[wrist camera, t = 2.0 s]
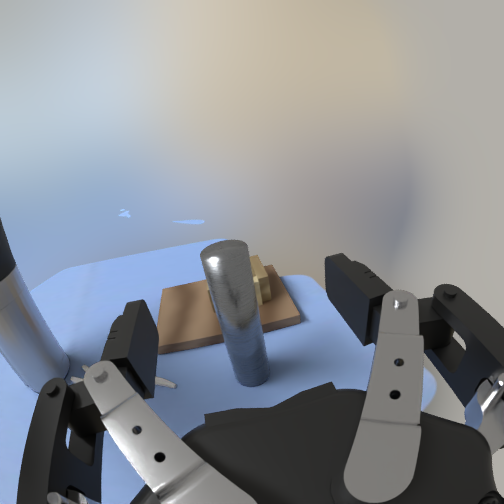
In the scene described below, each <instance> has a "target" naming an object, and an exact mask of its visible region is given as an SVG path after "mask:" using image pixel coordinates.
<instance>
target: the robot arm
mask: <svg viewBox="0 0 504 504" xmlns="http://www.w3.org/2000/svg"><path fill="white" fill-rule="evenodd" d="M325 283H326V284H325V285H326V293H327V296H328V298H329V300H330V301H331V303H332V304H333V305H334V307H335V308H336V309H337V311H338V312H339V313H340V315H341V316H342V317H343V319H344V320H345V321H346V323H347V324H348V325H349V327H350V328H351V329H352V331H353V332H354V333H355V335H356V336H357V338H358V339H359V340H360V342H361V343H362V344H363V346H366V345H368V344H371V343H374V344H375V345H376V346H375V352H374V357H373V362H372V367H371V372H370V377H369V382H368V386H367V390H366V391H363V390H357V389H336V388H335V387H334V385H333V383H332V382H329V383H326V384H323V385H320V386H317V387H314V388H311V389H308V390H305V391H302V392H300V393H298V394H296V395H294V396H293V397H291V398H289V399H287V400H285V401H283V402H281V403H279V404H277V405H275V406H273V407H270V408H236V409H231V410H226V411H220V412H215V413H209V414H204V415H205V424H202V425H200V426H198V427H196V428H194V429H193V430H191V431H190V432H188V433H187V434H186V435H185V436H183V437H182V438H181V439H180V438H179V437H178V436H177V435H176V434H175V433H174V432H173V431H172V430H171V429H170V428H169V427H168V426H167V425H166V424H165V423H164V422H163V421H162V420H161V419H160V418H159V417H158V416H157V414H156V413H155V412H154V411H153V410H152V409H151V408H150V407H149V406H148V404H147V403H146V402H145V401H144V399H149V398H154V389H155V377H156V365H157V355H158V346H159V334H158V330H157V327H156V325H155V323H154V320H153V318H152V316H151V314H150V311H149V309H148V307H147V304H146V302H145V301H144V300H143V299H142V300H137V301H133V302H128V303H127V304H126V306H125V309H124V312H123V315H120V316H118V317H117V319H116V320H115V321H114V322H113V324H112V326H111V329H110V333H109V335H108V338H107V339H108V340H107V341H106V344H105V347H104V351H103V354H102V357H101V360H100V362H97V363H95V364H93V365H92V366H91V367H90V368H89V369H88V370H87V371H86V373H85V375H84V380H83V381H80V382H78V383H75V384H72V385H68V384H67V383H66V382H65V380H64V378H65V377H66V375H67V373H68V370H69V367H70V362H69V358H68V357H67V355H66V354H65V352H64V351H63V349H62V348H61V346H60V345H59V343H58V342H57V340H56V338H55V337H54V335H53V334H52V332H51V330H50V329H49V327H48V325H47V324H46V322H45V320H44V318H43V317H42V315H41V313H40V311H39V310H38V308H37V306H36V304H35V302H34V300H33V298H32V296H31V294H30V292H29V291H28V288H27V286H26V284H25V282H24V280H23V278H22V276H21V274H20V271H19V269H18V267H17V265H16V262H15V260H14V258H13V255H12V253H11V250H10V247H9V243H8V240H7V237H6V234H5V231H4V229H3V226H2V222H1V219H0V352H1V354H2V355H3V356H4V358H5V359H6V361H7V362H8V363H9V365H10V366H11V367H12V369H13V370H14V371H15V372H16V374H17V375H18V376H19V378H20V379H21V380H22V381H23V382H24V384H25V385H29V387H30V388H31V389H32V390H33V391H35V392H38V393H40V394H39V397H38V400H37V403H36V406H35V410H34V413H33V417H32V420H31V424H30V428H29V432H28V436H27V440H26V444H25V449H24V454H23V459H22V464H21V470H20V477H19V484H18V492H17V503H16V504H101V472H102V450H103V437H104V431H106V430H108V432H109V433H110V435H111V436H112V438H113V439H114V441H115V442H116V444H117V445H118V447H119V448H120V450H121V451H122V452H123V454H124V455H125V457H126V458H127V459H128V461H129V462H130V463H131V465H132V466H133V467H134V469H135V470H136V471H137V472H138V474H139V475H140V476H141V477H142V479H143V480H144V481H145V482H146V484H145V485H144V487H143V488H142V489H141V490H140V492H139V493H138V494H137V495H136V497H135V498H134V499H133V500H132V501H131V503H130V504H504V498H503V497H502V496H501V495H500V494H499V493H498V491H497V489H496V486H495V482H494V477H493V470H492V454H494V453H495V452H496V451H497V450H498V449H502V448H504V328H503V327H502V326H501V325H500V324H499V323H498V322H497V321H496V320H495V319H494V318H493V317H492V316H491V315H490V314H489V313H487V312H486V311H485V310H484V309H483V308H482V307H481V306H480V305H479V304H477V303H476V302H475V301H474V300H473V299H472V298H471V297H469V296H468V295H467V294H466V293H465V292H463V291H462V290H461V289H460V288H458V287H457V286H454V285H450V284H442V285H439V286H437V287H436V288H435V290H434V294H433V297H431V298H423V299H417V298H416V297H415V296H414V295H413V294H412V293H410V292H407V291H404V290H393V289H391V288H390V287H389V286H388V285H387V284H386V283H385V282H384V281H382V280H381V279H380V278H379V277H378V276H376V274H375V273H373V272H371V270H370V269H369V268H368V267H367V266H365V265H364V264H361V263H359V262H356V261H351V260H350V259H348V258H347V257H346V256H345V255H344V254H343V253H339V254H336V255H332V256H328V257H326V258H325ZM454 331H456V332H457V333H458V334H459V335H460V336H461V338H462V339H463V340H464V342H465V344H466V351H465V350H464V349H463V348H462V346H461V345H460V344H459V343H458V342H457V341H456V340H455V339H454V338H453V333H454ZM424 353H425V354H426V356H427V357H428V358H429V359H430V361H431V362H432V363H433V365H434V366H435V367H436V369H437V370H438V371H439V373H440V374H441V375H442V377H443V378H444V379H445V381H446V382H447V383H448V385H449V386H450V387H451V388H452V390H453V391H454V393H455V394H456V396H457V397H458V399H459V400H460V401H461V403H462V404H463V406H464V407H465V420H466V422H465V425H464V424H460V423H457V422H454V421H450V420H447V419H444V418H441V417H437V416H434V415H431V414H428V413H425V412H422V411H421V402H422V388H423V365H424V364H423V363H424ZM67 428H69V429H70V430H71V434H70V441H69V447H68V448H67V446H66V434H67Z"/></svg>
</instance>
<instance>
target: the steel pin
mask: <svg viewBox="0 0 504 504" xmlns="http://www.w3.org/2000/svg"><path fill="white" fill-rule="evenodd" d="M200 257H201V261H202V265H203V268H204V272H205V276H206V279H207V283H208V287H209V290H210V294H211V297H212V301H213V305H214V308H215V311H216V315H217V318H218V322H219V325H220V328H221V332H222V335H223V338H224V342H225V345H226V348H227V351H228V354H229V358H230V361H231V364H232V367H233V370H234V373H235V376H236V379H237V381H238V382H239V383H240V384H241V385H244V386H247V387H255V386H259V385H261V384H263V383H264V382H265V381H266V380H267V379H268V377H269V375H270V369H269V364H268V358H267V353H266V347H265V342H264V336H263V330H262V325H261V319H260V314H259V308H258V302H257V297H256V291H255V285H254V280H253V274H252V268H251V263H250V257H249V251H248V246H247V244H246V243H245V242H243V241H239V240H225V241H220V242H217V243H214V244H211V245H209V246H208V247H206V248H205V249H203V250H202V252H201V254H200Z"/></svg>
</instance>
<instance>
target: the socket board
mask: <svg viewBox="0 0 504 504" xmlns="http://www.w3.org/2000/svg"><path fill="white" fill-rule="evenodd" d="M250 263H251V268H252V274H253V280H254V285H255V291H256V297H257V302H258V308H259V314H260V319H261V325H262V330H263V333H265V332H269V331H273V330H277V329H280V328H284V327H288V326H292V325H295V324H299V323H301V321H300V314H299V312H298V310H297V308H296V306H295V305H294V303H293V301H292V299H291V297H290V296H289V294H288V292H287V290H286V289H285V287H284V285H283V283H282V281H281V280H280V278H279V276H278V275H277V273H276V271H275V269H274V267H273V265H268V266H264V267H263V265H262V263H261V261H260V259H259V257H258V255H256V256H251V257H250ZM157 330H158V334H159V346H158V354H164V353H170V352H176V351H182V350H187V349H192V348H198V347H203V346H208V345H213V344H217V343H222V342H224V338H223V335H222V332H221V328H220V325H219V322H218V318H217V315H216V311H215V308H214V305H213V301H212V297H211V294H210V290H209V287H208V283H207V279H206V280H202V281H198V282H193V283H188V284H184V285H179V286H175V287H170V288H165V289H163V291H162V297H161V303H160V310H159V316H158V323H157Z"/></svg>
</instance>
